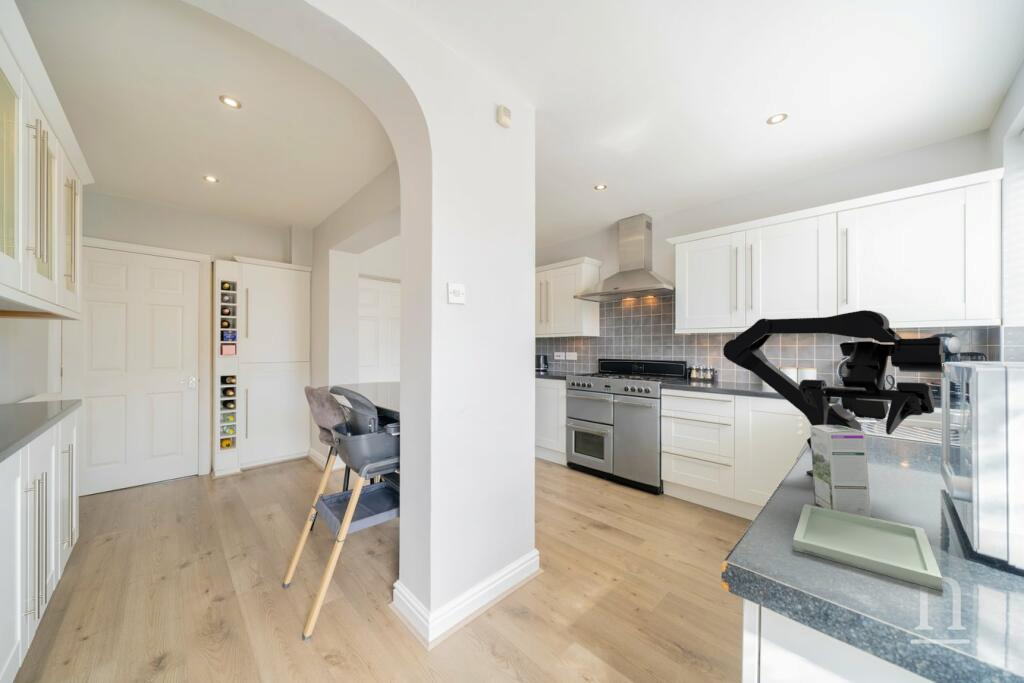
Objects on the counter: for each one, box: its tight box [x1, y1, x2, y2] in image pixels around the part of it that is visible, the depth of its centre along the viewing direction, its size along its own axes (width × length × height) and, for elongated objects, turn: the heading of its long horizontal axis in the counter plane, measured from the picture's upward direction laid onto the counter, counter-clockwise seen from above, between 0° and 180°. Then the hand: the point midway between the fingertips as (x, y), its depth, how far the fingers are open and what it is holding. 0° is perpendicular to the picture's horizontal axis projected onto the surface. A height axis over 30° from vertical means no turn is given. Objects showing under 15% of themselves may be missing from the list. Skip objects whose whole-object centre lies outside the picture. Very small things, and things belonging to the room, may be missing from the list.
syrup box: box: [809, 424, 872, 518], centre depth 65 cm, size 6×6×14 cm
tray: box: [792, 503, 944, 591], centre depth 54 cm, size 16×14×2 cm
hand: (853, 429), depth 69 cm, fingers open, 9 cm apart
